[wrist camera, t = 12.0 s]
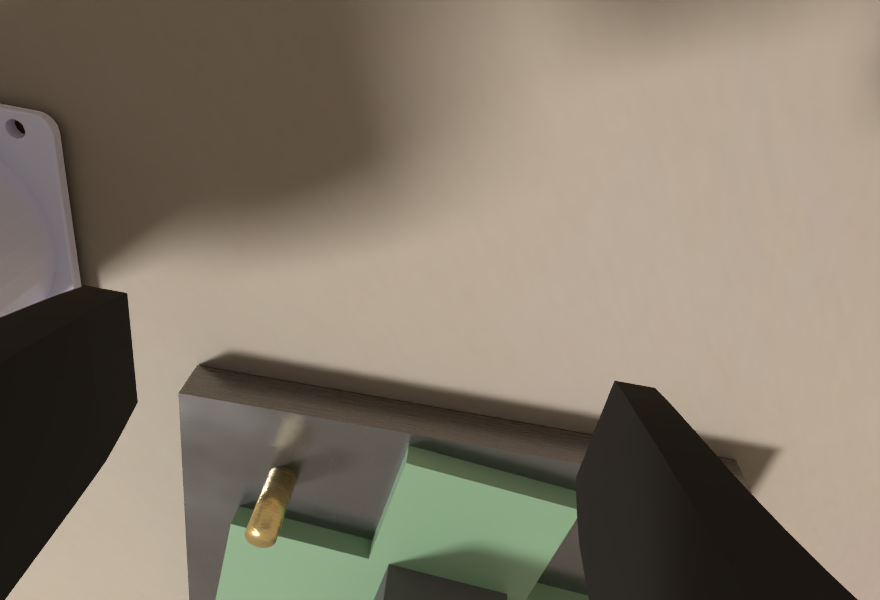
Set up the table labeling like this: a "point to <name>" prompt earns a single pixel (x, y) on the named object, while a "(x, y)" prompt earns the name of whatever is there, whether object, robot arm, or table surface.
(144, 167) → the table surface
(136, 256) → the table surface
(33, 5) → the table surface
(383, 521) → the board
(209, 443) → the chassis
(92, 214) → the table surface
